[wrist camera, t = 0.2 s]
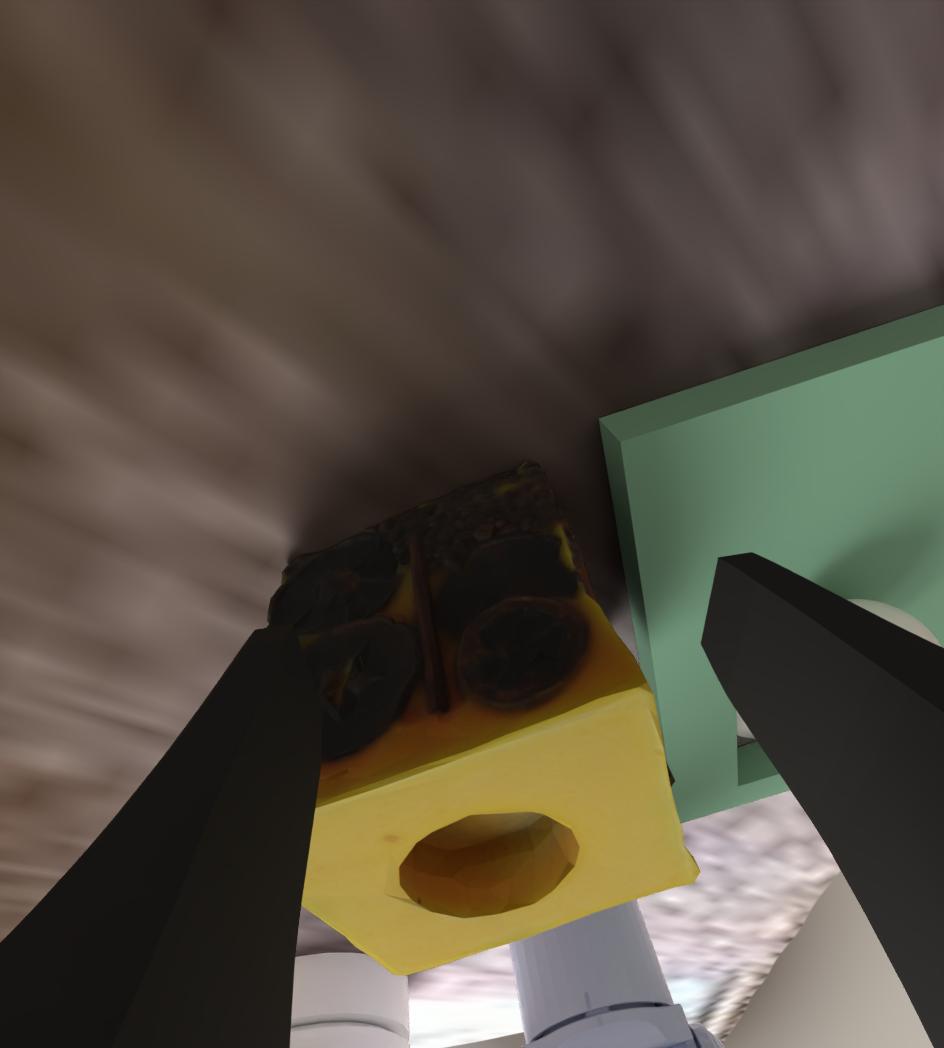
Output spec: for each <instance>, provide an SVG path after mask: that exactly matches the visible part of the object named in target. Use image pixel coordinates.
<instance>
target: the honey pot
mask: <svg viewBox="0 0 944 1048" xmlns="http://www.w3.org/2000/svg"><path fill="white" fill-rule="evenodd" d="M409 1034H410V1031H409V1002H408V976H407V975H406V976H404V975H393V974H392V973H390V972H389V971H388V970H386V969H385V968H384V967H383V966H381V965H380V964H379V963H378V962H376V961H375V960H374V959H372V958H371V957H370V956H368V955H367V954H360V953H352V952H351V953H321V954H313V955H305V956H299V957H295V967H294V984H293V1000H292V1017H291V1034H290V1048H410V1045H409V1043H408V1042H409Z"/></svg>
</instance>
